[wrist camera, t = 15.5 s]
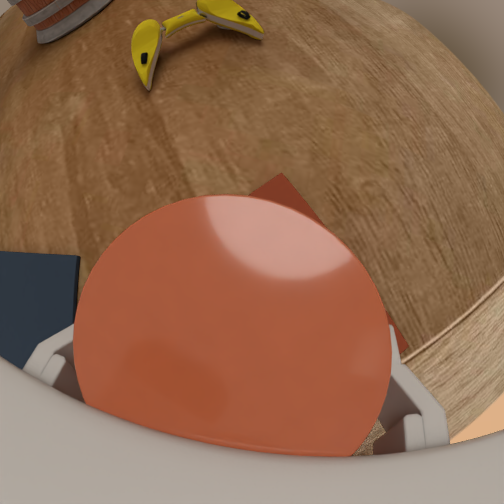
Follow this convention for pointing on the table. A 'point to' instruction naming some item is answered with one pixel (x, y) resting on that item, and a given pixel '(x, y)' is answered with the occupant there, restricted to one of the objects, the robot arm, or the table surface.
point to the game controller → (209, 8)
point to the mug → (57, 15)
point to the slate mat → (35, 300)
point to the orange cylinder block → (235, 329)
